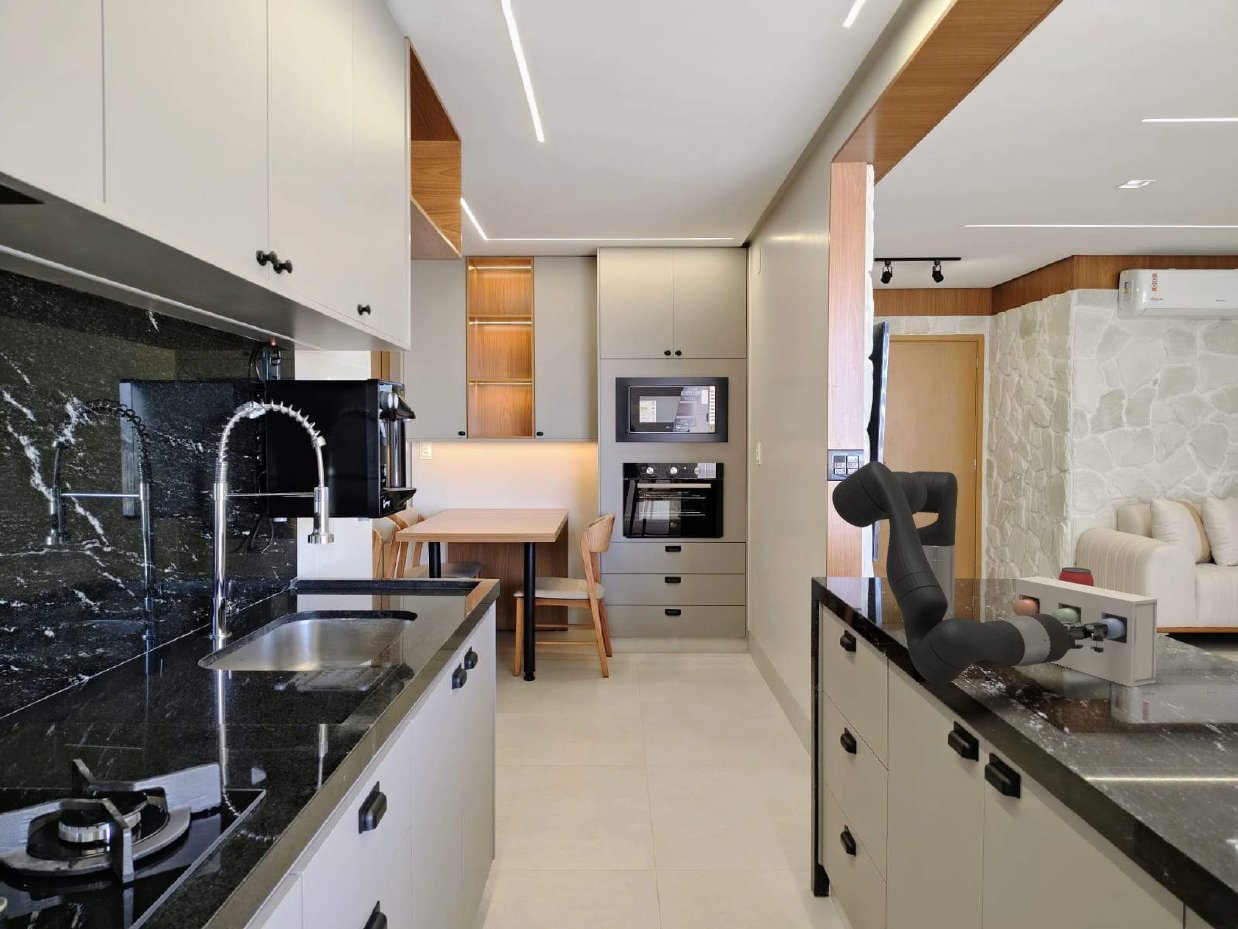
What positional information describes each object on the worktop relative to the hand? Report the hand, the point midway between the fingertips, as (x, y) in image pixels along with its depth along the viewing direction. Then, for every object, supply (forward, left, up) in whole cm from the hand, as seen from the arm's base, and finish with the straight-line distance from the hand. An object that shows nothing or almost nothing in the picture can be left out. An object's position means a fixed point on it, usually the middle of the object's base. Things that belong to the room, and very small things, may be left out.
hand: (1103, 629), depth 123 cm
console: (-8, +6, -9) cm, 13 cm away
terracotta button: (-16, +2, -2) cm, 16 cm away
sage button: (-8, +2, -2) cm, 8 cm away
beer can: (-30, +34, -9) cm, 46 cm away
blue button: (0, +2, -2) cm, 3 cm away
